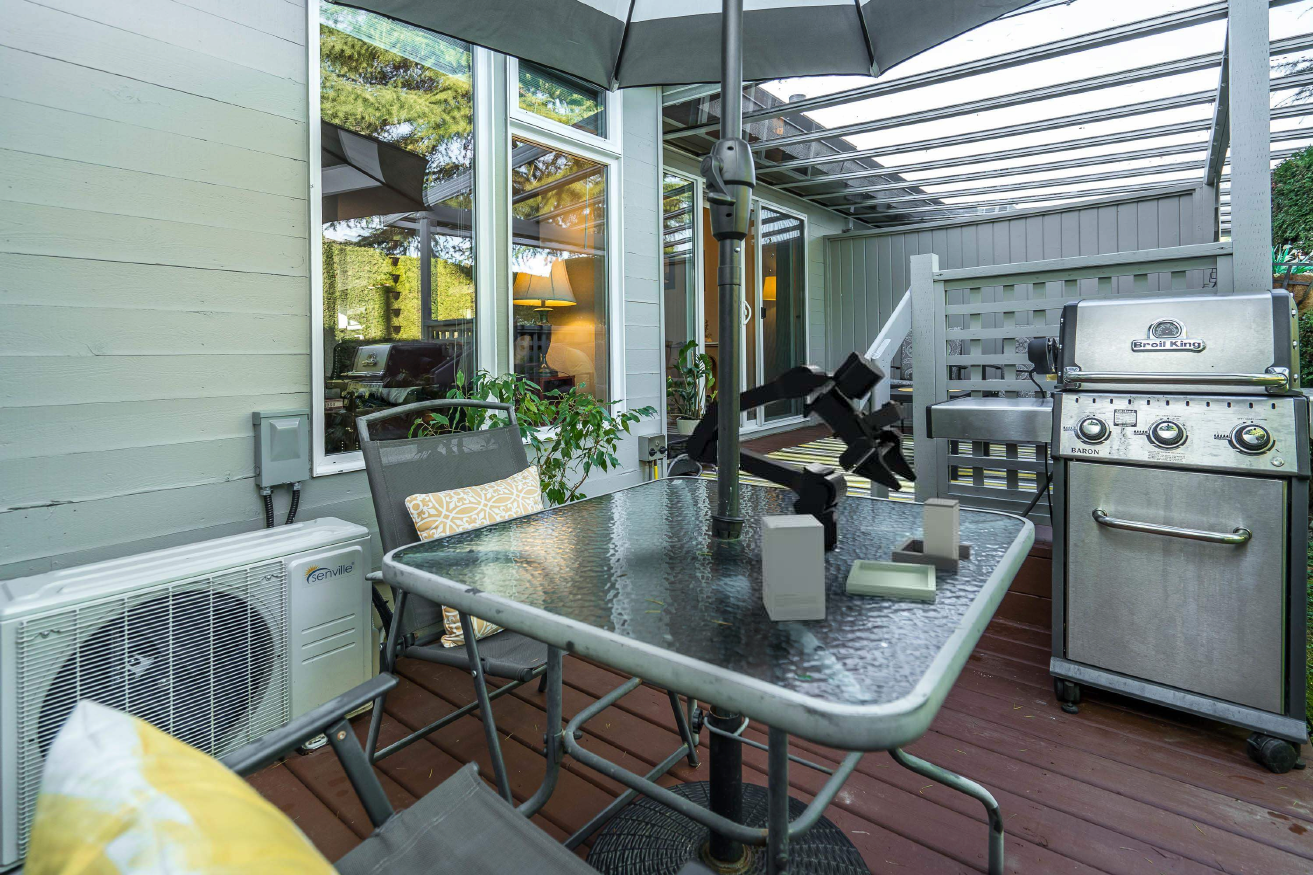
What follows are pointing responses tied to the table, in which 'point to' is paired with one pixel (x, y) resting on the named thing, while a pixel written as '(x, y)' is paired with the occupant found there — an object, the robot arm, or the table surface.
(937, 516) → the tall cream pillar
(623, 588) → the table surface
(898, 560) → the cradle
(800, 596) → the supplement box
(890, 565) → the tray
